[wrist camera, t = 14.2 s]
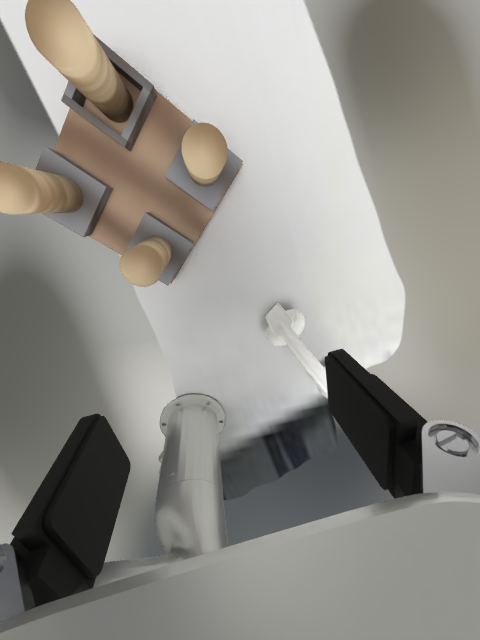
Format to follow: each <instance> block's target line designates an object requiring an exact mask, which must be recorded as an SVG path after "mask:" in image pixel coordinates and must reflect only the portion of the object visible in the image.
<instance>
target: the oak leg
mask: <svg viewBox="0 0 480 640" xmlns="http://www.w3.org/2000/svg"><path fill="white" fill-rule="evenodd" d="M25 21H26V26H27V30H28V33H29V36H30V38H31V40H32V42H33V44H34V45H35V47H36V48H37V50H38V51H39V52H40V53H41V54H42V55H43V56H44V57H45V58H46V59H47V60H48V61H49V62H50V63H51V64H52V65H53V66H54V67H55V68H56V69H57V70H58V71H59V72H60V73H61V74H62V75H63V76H64V77H65V78H66V79H68V80H69V81H70V82H71V83H72V84H73V85H74V86H75V87H76V88H77V89H78V90H79V91H80V92H81V93H82V94H83V95H84V96H85V97H86V98H87V99H88V100H89V101H90V102H91V103H92V104H93V105H95V106H96V107H97V108H98V109H99V110H100V111H101V112H102V113H103V114H104V115H105V116H106V117H107V118H108V119H110V120H111V121H113V122H116V123H123V122H126V121H128V120H129V117H130V115H131V113H132V111H133V109H134V105H133V99H132V96H131V94H130V92H129V91H128V89H127V88H126V86H125V84H124V83H123V81H122V80H121V78H120V76H119V75H118V73H117V72H116V70H115V68H114V67H113V65H112V63H111V62H110V60H109V59H108V57H107V55H106V54H105V52H104V51H103V49H102V47H101V46H100V44H99V43H98V41H97V39H96V38H95V36H94V35H93V33H92V31H91V30H90V28H89V27H88V25H87V23H86V22H85V20H84V19H83V17H82V15H81V14H80V12H79V11H78V9H77V8H76V6H75V5H74V4H73V3H72V2H71V1H70V0H28V3H27V6H26V11H25Z"/></svg>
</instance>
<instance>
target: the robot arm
mask: <svg viewBox="0 0 480 640" xmlns="http://www.w3.org/2000/svg"><path fill="white" fill-rule="evenodd" d="M325 369H326V381H327V393H328V404H329V409H330V411H331V413H332V415H333V416H334V418H335V419H336V421H337V422H338V424H339V425H340V427H341V428H342V429H343V431H344V433H345V434H346V436H347V437H348V439H349V440H350V442H351V443H352V444H353V446H354V447H355V449H356V450H357V452H358V453H359V455H360V456H361V458H362V459H363V461H364V462H365V464H366V465H367V467H368V468H369V470H370V471H371V473H372V474H373V476H374V477H375V479H376V480H377V482H378V483H379V484H380V486H381V487H382V488H383V489H384V490H386V489H388V490H389V492H390V493H391V494H392V496H393V497H394V499H391V500H387V501H384V502H380V503H377V504H373V505H370V506H365V507H362V508H358V509H355V510H351V511H347V512H344V513H340V514H337V515H334V516H330V517H327V518H323V519H320V520H317V521H313V522H310V523H307V524H303V525H300V526H297V527H293V528H290V529H286V530H283V531H279V532H276V533H273V534H269V535H266V536H262V537H259V538H256V539H253V540H249V541H246V542H243V543H239V544H236V545H232V546H228V540H227V533H226V525H225V514H224V502H223V488H222V475H221V462H220V449H219V436H218V435H219V433H220V432H221V431H222V429H223V427H224V424H225V414H224V410H223V408H222V406H221V405H220V404H219V403H218V402H217V401H216V400H214V399H212V398H210V397H208V396H205V395H199V394H190V395H184V396H181V397H178V398H176V399H174V400H173V401H171V402H170V403H169V404H168V405H167V406H166V407H165V408H164V410H163V411H162V414H161V417H160V428H161V430H162V433H163V434H164V435H165V436H166V439H165V445H164V451H163V452H162V453H161V455H160V456H159V461H160V462H161V463H162V465H161V471H160V477H159V484H158V490H157V497H156V502H155V510H154V524H155V529H156V532H157V535H158V538H159V540H160V542H161V544H162V546H163V547H164V549H165V551H166V553H167V555H161V556H158V557H151V558H141V559H130V560H120V561H110V562H104V561H105V557H106V554H107V550H108V546H109V543H110V540H111V536H112V532H113V529H114V525H115V522H116V518H117V515H118V510H119V508H120V503H121V500H122V497H123V493H124V490H125V486H126V483H127V479H128V475H129V472H130V461H129V459H128V457H127V455H126V453H125V452H124V450H123V448H122V446H121V445H120V443H119V441H118V439H117V437H116V436H115V434H114V432H113V430H112V429H111V427H110V425H109V423H108V421H107V420H106V418H105V417H104V416H100V415H99V414H94V415H90V416H86V417H83V418H81V419H80V420H79V422H78V424H77V426H76V427H75V429H74V430H73V432H72V434H71V435H70V437H69V439H68V440H67V442H66V444H65V445H64V447H63V449H62V450H61V452H60V454H59V455H58V457H57V459H56V460H55V462H54V464H53V466H52V467H51V469H50V470H49V472H48V474H47V475H46V477H45V479H44V480H43V482H42V484H41V485H40V487H39V489H38V490H37V492H36V494H35V495H34V497H33V499H32V500H31V502H30V504H29V505H28V507H27V509H26V510H25V512H24V514H23V515H22V517H21V519H20V520H19V522H18V524H17V525H16V527H15V529H14V530H13V532H12V535H13V536H15V537H14V538H13V540H12V542H11V544H6V543H5V544H0V640H480V436H479V435H478V434H477V433H475V432H474V431H472V430H471V429H469V428H467V427H466V426H464V425H461V424H459V423H456V422H453V421H447V420H432V421H430V422H427V421H426V420H425V419H424V418H423V417H421V415H419V414H418V413H417V412H416V411H415V410H414V409H413V408H412V407H410V406H409V405H408V404H407V403H406V402H405V401H404V400H403V399H401V398H400V397H399V396H398V395H397V394H396V393H395V392H394V391H392V390H391V389H390V388H389V387H388V386H387V385H386V384H385V383H384V382H383V381H381V380H380V379H379V378H378V377H377V376H375V375H373V374H370V373H369V372H368V371H366V370H365V369H364V368H363V367H362V366H361V365H360V364H359V363H358V362H357V361H356V360H354V359H353V358H352V357H351V356H350V355H349V354H348V353H347V352H346V351H345V350H343V349H339V350H335V351H332V352H329V353H328V356H326V357H325ZM404 496H405V497H404Z"/></svg>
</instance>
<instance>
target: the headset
mask: <svg viewBox="0 0 480 640" xmlns="http://www.w3.org/2000/svg"><path fill="white" fill-rule="evenodd" d="M266 321H267V323H268V325H269V327H268V329H267V339H268V341H269V342H270V343H271V344H272V345H274V346H278V347H281V346H286V345H288V347H289V348H290V349H291V351H292V352H293V353H294V355H295V356H296V357H297V359H298V360H299V361H300V363H301V364H302V365H303V366H304V368H305V369H306V370H307V371H308V373H309V374H310V375H311V376H312V377H313V379H314V380H315V381H316V382H317V387H318V389H319V391H320V392H321V394H322V395H323V396H325V397H326V398H328V393H327V381H326V369H325V366H324V367H323V366H322V365H321V364H320V362H319V361H318V360H317V359H316V358H315V357H314V355H313V354H312V353H311V352H310V350H309V349H308V348H307V347H306V346H305V344H304V343H303V342H302V341H301V339H300V338H299V336H300V334H301V333H302V331H303V329H304V327H305V317H304V315H303V314H302V313H301V312H300V311H298V310H295V309H290V310H287V311H285V310H284V309H283V308H282V306H281V305H280V304H279V303H277V304H276V305H275V306H274V307H273V308H272V309H271V310H270V311H269V313H268V314H267V315H266Z"/></svg>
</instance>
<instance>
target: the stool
mask: <svg viewBox="0 0 480 640" xmlns="http://www.w3.org/2000/svg"><path fill="white" fill-rule="evenodd" d="M93 35H94V34H93ZM94 36H95V35H94ZM95 38H96V39H97V41H98V43H99V44H100V46H101V47H102V49H103V51H104V52H105V54H106V55H107V57H108V59H109V60H110V62H111V63H112V65H113V67H114V68H115V70H116V72H117V73H118V75H119V76H120V78H121V80H122V81H123V83H124V84H125V86H126V88H127V89H128V91H129V92H130V94H131V96H132V99H133V105H134V109H133V111H132V113H131V115H130V117H129V120H128V121H126V122H123V123H116V122H113V121H111V120H110V119H108V118H107V117H106V116H105V115H104V114H103V113H102V112H101V111H100V110H99V109H98V108H97V107H96V106H95V105H93V104H92V103H91V102H90V101H89V100H88V99H87V98H86V97H85V96H84V95H83V94H82V93H81V92H80V91H79V90H78V89H77V88H76V87H75V86H74V85H73V84H72V83H71V82H70V81H68V84H67V87H66V89H65V92H64V95H63V97H62V100H61V101H62V102H63V103H65V104H66V105H67V106H69V107H70V110H69V112H68V115H67V117H66V120H65V123H64V125H63V128H62V130H61V133H60V136H59V138H58V141H57V143H56V146H55V149H54V150H53V149H50V148H48V147H44V148H43V151H42V154H41V156H40V159H39V162H38V164H37V167H36V170H35V169H30V168H26V167H22V166H18V165H13V164H9V163H4V162H1V161H0V212H2V213H6V214H35V213H42V214H44V215H46V216H47V217H49V218H51V219H53V220H54V221H56V222H58V223H60V224H61V225H63V226H65V227H67V228H68V229H70V230H72V231H74V232H75V233H77V234H79V235H81V236H82V237H86V236H90V237H91V238H93V239H95V240H97V241H98V242H100V243H102V244H104V245H105V246H107V247H109V248H110V249H112V250H114V251H116V252H117V253H119V254H121V255H122V256H121V259H120V270H121V273H122V275H123V276H124V278H125V279H126V280H127V281H129V282H130V283H131V284H133V285H136V286H140V287H146V286H150V285H152V284H154V283H155V282H156V281H157V280H159V281H161V282H163V283H164V284H166V285H169V284H170V283H172V281H173V280H174V278H175V276H176V275H177V273H178V271H179V270H180V268H181V266H182V265H183V263H184V261H185V260H186V258H187V256H188V255H189V253H190V251H191V250H192V248H193V246H194V245H195V243H196V241H197V240H198V238H199V236H200V235H201V233H202V231H203V230H204V228H205V226H206V225H207V223H208V221H209V220H210V218H211V216H212V215H213V213H214V211H215V210H216V208H217V206H218V205H219V203H220V201H221V200H222V198H223V196H224V195H225V193H226V191H227V190H228V188H229V186H230V185H231V183H232V181H233V180H234V178H235V176H236V175H237V173H238V171H239V170H240V168H241V166H242V165H243V164H242V160H241V159H240V158H238V157H237V156H236V155H235V154H234V153H232V152H231V151H230V150H229V149H228V148H227V144H226V141H225V139H224V136H223V135H222V133H221V132H220V131H219V130H218V129H217V128H216V127H214V126H213V125H211V124H208V123H197V122H196V121H195V120H193V121H191V120H190V119H189V118H188V117H187V116H186V115H184V114H183V113H182V112H181V111H180V110H178V109H177V108H176V107H175V106H174V105H173V104H171V103H170V102H169V101H168V100H167V99H165V98H164V97H163V96H162V95H161V94H160V93H158V92H157V91H156V90H155V88H154V86H153V85H152V84H151V83H150V82H149V81H148V80H147V79H145V78H144V77H143V76H142V75H141V74H139V73H138V72H137V71H136V70H135V69H134V68H132V67H131V66H130V65H129V64H128V63H127V62H125V61H124V60H123V59H122V58H121V57H119V56H118V55H117V54H116V53H115V52H114V51H112V50H111V49H110V48H109V47H108V46H107V45H105V44H104V43H103V42H102V41H101V40H99V39H98V38H97V37H96V36H95Z"/></svg>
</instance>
